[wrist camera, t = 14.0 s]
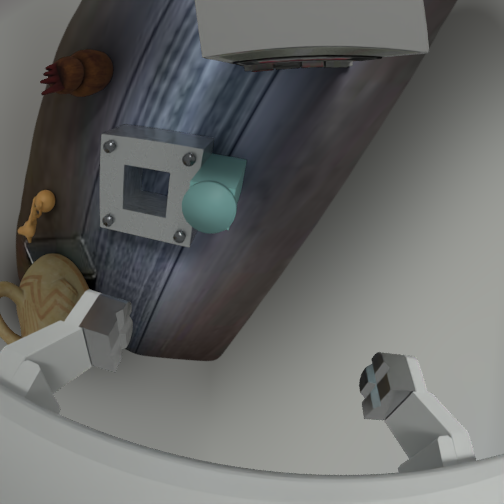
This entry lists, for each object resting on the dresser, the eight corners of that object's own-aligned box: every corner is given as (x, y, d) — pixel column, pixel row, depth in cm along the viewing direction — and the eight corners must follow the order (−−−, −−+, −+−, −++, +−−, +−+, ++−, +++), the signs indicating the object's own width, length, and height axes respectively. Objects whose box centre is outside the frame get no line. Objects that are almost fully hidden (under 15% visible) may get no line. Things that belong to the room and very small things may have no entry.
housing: (124, 124, 42) (99, 135, 36) (214, 137, 43) (202, 150, 36) (120, 207, 49) (98, 228, 43) (200, 224, 50) (188, 249, 43)
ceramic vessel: (68, 317, 66) (18, 398, 45) (20, 250, 57) (-48, 324, 36) (116, 304, 61) (63, 402, 40) (63, 224, 52) (-20, 310, 31)
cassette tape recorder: (246, 73, 37) (201, 71, 16) (240, 31, 34) (189, -19, 13) (350, 67, 36) (432, 65, 14) (346, 25, 32) (421, -23, 11)
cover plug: (209, 149, 44) (184, 178, 33) (251, 157, 44) (240, 188, 33) (204, 188, 47) (179, 227, 36) (243, 195, 47) (231, 238, 36)
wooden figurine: (117, 91, 39) (56, 106, 27) (86, 93, 39) (21, 111, 27) (119, 48, 36) (57, 46, 23) (87, 52, 36) (21, 56, 23)
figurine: (46, 173, 47) (3, 200, 37) (71, 186, 48) (29, 217, 38) (41, 210, 51) (2, 242, 41) (64, 223, 52) (27, 258, 42)
